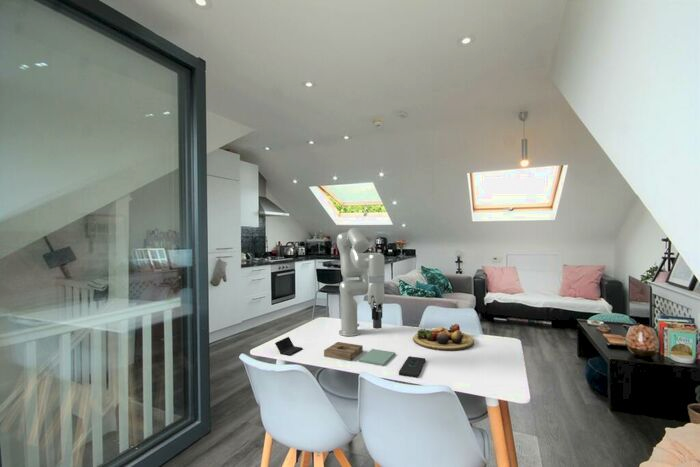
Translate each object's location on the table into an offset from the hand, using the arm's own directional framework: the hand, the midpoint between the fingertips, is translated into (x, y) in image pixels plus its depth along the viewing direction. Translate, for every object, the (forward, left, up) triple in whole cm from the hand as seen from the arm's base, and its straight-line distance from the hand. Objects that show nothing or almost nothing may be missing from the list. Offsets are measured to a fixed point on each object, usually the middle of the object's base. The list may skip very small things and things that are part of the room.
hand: (377, 318), depth 156 cm
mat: (0, 0, -19) cm, 19 cm away
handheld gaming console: (+10, -44, -19) cm, 49 cm away
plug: (0, 0, -4) cm, 4 cm away
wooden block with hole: (+2, -17, -19) cm, 25 cm away
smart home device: (+4, +18, -19) cm, 27 cm away
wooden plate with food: (-39, +23, -19) cm, 49 cm away
